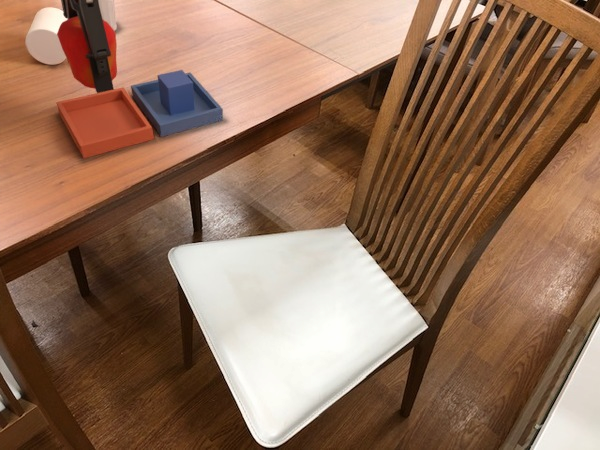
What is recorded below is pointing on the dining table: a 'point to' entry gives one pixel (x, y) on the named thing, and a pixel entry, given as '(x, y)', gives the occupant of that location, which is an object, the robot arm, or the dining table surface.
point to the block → (176, 92)
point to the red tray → (104, 122)
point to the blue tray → (170, 124)
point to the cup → (108, 12)
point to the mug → (46, 36)
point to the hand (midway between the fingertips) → (95, 76)
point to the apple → (84, 50)
